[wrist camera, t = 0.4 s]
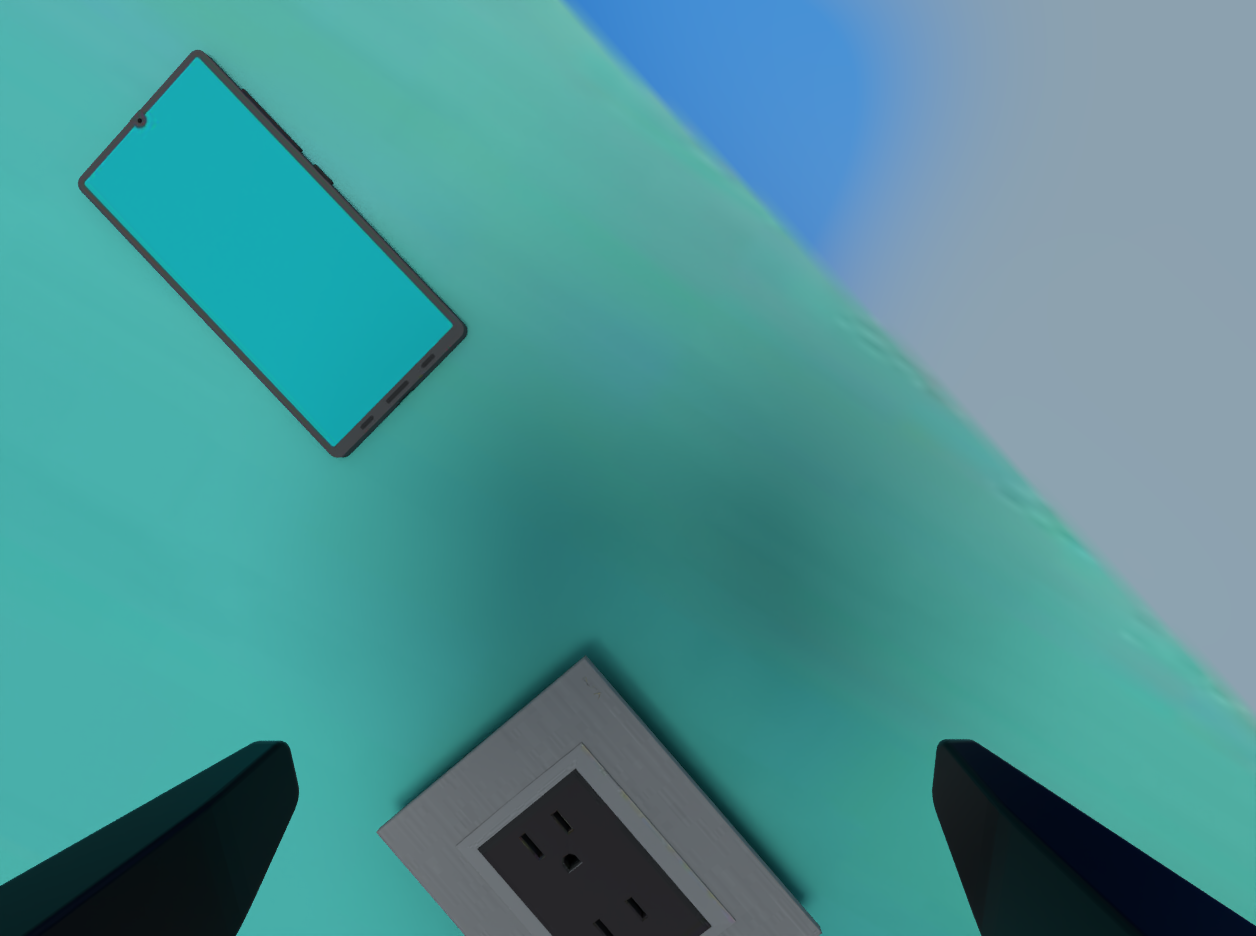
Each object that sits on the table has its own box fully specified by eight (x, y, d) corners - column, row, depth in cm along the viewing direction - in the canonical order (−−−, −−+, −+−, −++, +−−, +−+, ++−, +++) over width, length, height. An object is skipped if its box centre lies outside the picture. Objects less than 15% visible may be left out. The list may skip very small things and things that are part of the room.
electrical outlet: (809, 891, 24) (823, 940, 22) (609, 1043, 25) (602, 1106, 23) (591, 639, 25) (583, 661, 22) (400, 799, 26) (372, 837, 23)
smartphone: (336, 461, 24) (73, 183, 24) (348, 461, 25) (93, 192, 25) (469, 327, 23) (198, 43, 24) (476, 331, 24) (215, 56, 24)
